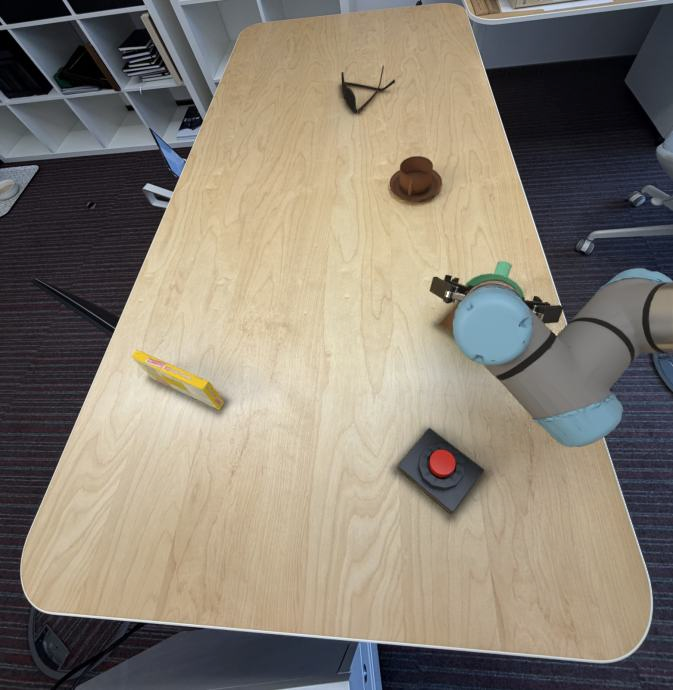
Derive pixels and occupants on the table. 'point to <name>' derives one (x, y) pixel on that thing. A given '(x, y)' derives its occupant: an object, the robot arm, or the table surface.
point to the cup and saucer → (415, 180)
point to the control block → (438, 488)
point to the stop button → (442, 463)
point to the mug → (497, 276)
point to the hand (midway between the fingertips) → (493, 294)
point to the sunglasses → (350, 95)
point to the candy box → (179, 379)
